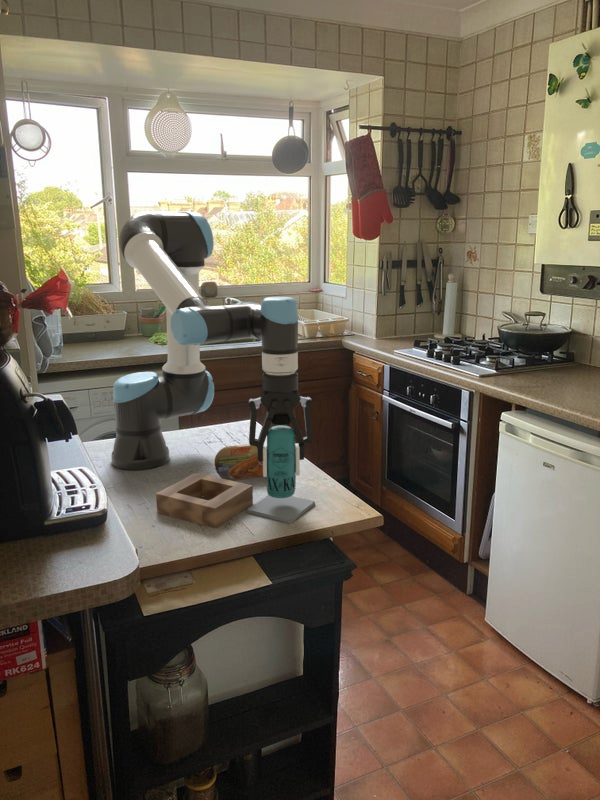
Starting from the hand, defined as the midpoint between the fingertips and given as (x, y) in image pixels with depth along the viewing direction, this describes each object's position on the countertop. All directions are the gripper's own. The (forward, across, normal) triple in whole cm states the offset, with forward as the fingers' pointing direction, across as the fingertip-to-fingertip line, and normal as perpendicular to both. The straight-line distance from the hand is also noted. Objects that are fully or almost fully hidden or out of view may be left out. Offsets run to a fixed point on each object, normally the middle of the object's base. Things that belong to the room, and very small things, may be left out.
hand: (281, 473), depth 139 cm
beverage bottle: (+6, 0, 0) cm, 6 cm away
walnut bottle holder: (+8, -17, +2) cm, 19 cm away
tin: (+9, -8, +20) cm, 23 cm away
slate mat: (+8, 0, 0) cm, 8 cm away
